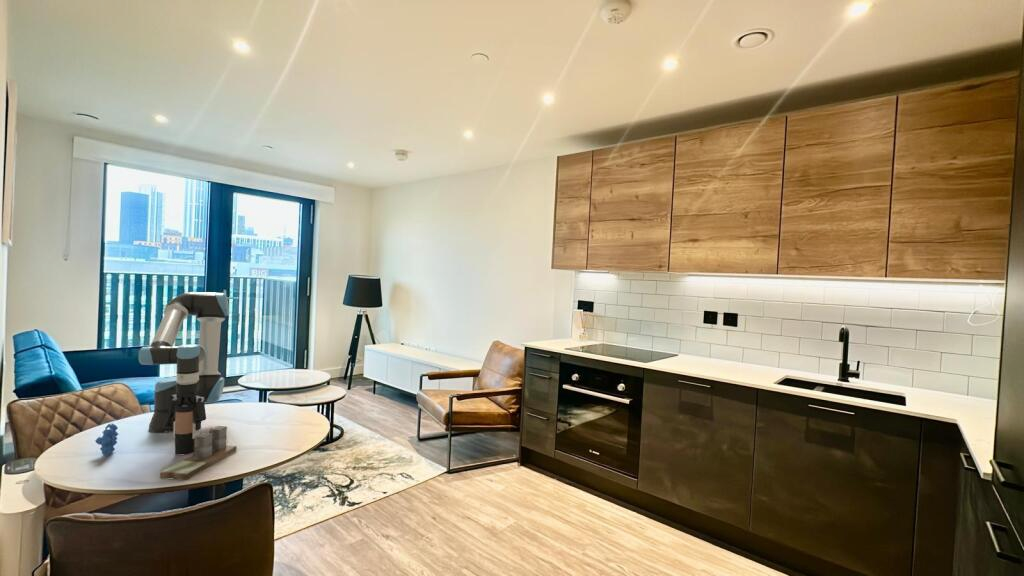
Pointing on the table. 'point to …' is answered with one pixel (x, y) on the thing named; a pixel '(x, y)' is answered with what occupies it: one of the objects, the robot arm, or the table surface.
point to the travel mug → (184, 429)
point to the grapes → (108, 439)
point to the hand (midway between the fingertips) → (186, 436)
